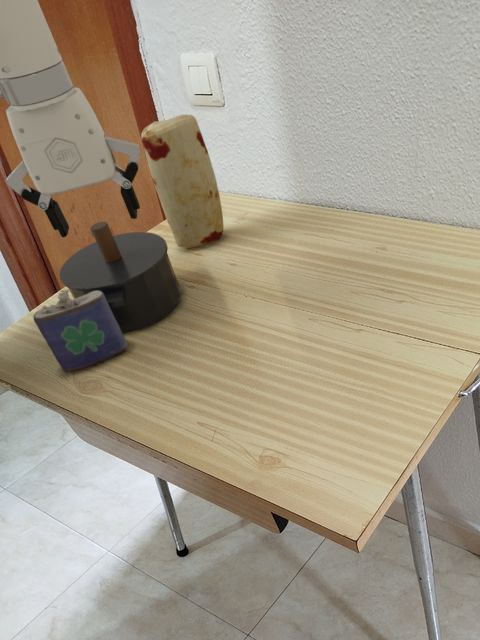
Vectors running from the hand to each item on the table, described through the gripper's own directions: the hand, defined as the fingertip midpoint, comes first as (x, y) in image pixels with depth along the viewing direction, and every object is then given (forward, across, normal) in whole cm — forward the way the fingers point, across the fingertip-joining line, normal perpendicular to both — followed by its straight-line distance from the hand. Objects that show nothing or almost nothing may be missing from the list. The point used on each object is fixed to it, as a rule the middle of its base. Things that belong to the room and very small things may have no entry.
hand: (100, 223), depth 81 cm
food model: (+14, +12, +16) cm, 24 cm away
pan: (+13, 0, 0) cm, 13 cm away
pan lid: (+6, 0, 0) cm, 6 cm away
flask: (+13, -5, -12) cm, 19 cm away
